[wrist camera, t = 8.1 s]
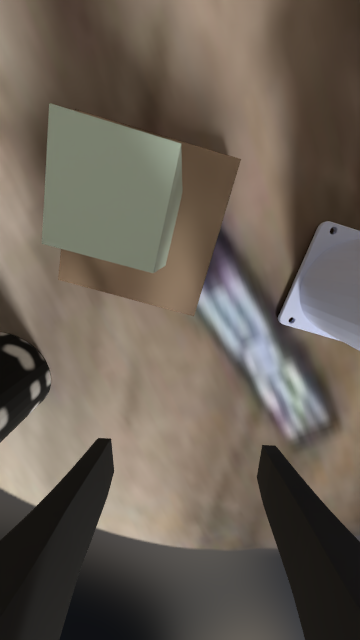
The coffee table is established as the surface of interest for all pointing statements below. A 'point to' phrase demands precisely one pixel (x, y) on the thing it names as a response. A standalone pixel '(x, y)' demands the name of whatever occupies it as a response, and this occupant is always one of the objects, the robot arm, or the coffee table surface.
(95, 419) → the coffee table surface
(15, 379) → the spotted tube
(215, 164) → the walnut plinth
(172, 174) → the sage block
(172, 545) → the coffee table surface
